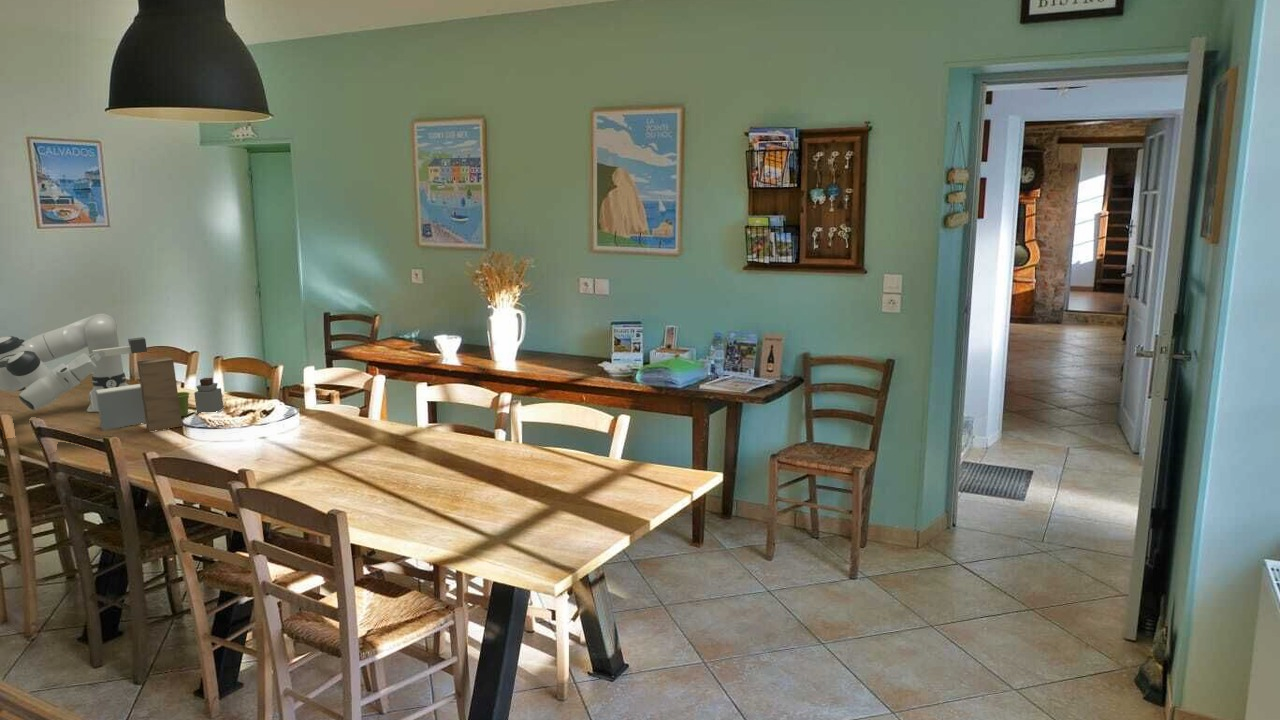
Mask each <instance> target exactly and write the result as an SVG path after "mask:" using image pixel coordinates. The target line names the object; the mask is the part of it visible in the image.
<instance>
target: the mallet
mask: <svg viewBox="0 0 1280 720" xmlns="http://www.w3.org/2000/svg"><path fill="white" fill-rule="evenodd" d="M127 341H128V345H125V346H119V347H116V348H107V349H99V350H92V353H93V356H95V355H96V354H98V352H100V351H103V352H104V353H105V355H104V356H112V355H120V354H121V355H127V354H138V353H146V352H148V349H147V341H146V338H145V337H144V336H143V337H142V336H141V337H134V338H128V339H127ZM104 356H103V357H104Z"/></svg>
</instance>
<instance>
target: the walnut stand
mask: <svg viewBox="0 0 1280 720" xmlns="http://www.w3.org/2000/svg"><path fill="white" fill-rule="evenodd" d="M136 365H137V372H138V378H139V384H140V386H141V393H142V400H143V407H144V414H145V420H146V424H145V426H146V429H147V428H148V429H147V431H148V432H149V431H155V430H161V431H164V430H163V429H167V430H169V429H168V428H171V427H173V426H177V425H179V424H181V422H182V416H181V413H180V406H179V399H178V392H179V391H178V386H177V385H178V384H177V377H176V371H175V364H174V359H173V358H172V357H170V356H164V357H158V358H157V357H155V358H149V359H148V358H147V359H142V360H141V359H140V360H136ZM182 423H183V422H182Z"/></svg>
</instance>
